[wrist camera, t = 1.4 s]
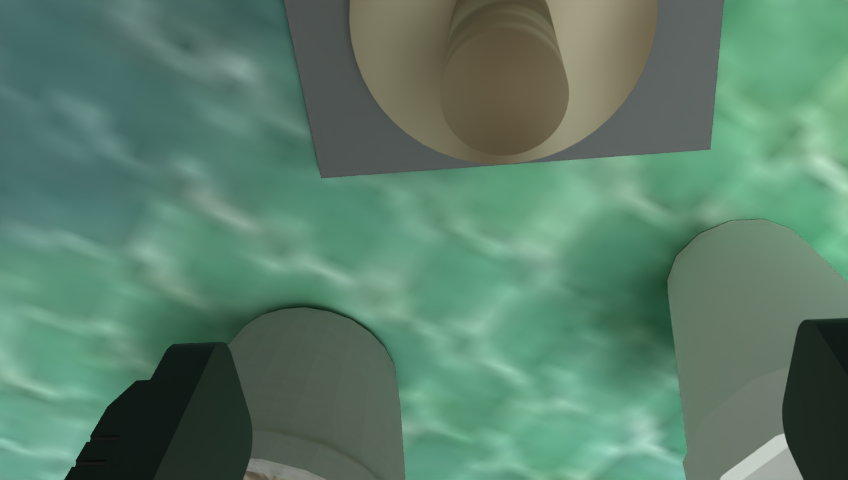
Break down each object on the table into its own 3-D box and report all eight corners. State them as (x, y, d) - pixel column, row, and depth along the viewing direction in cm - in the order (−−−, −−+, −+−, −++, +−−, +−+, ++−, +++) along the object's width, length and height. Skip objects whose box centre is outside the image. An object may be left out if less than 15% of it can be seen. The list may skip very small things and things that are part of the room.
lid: (659, -168, 24) (726, -146, 17) (646, 142, 30) (692, 250, 23) (329, -127, 26) (271, -91, 19) (377, 163, 31) (346, 270, 24)
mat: (734, -197, 24) (741, -196, 24) (705, 141, 30) (710, 149, 30) (261, -136, 26) (255, -134, 26) (324, 169, 32) (321, 178, 32)
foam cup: (741, 147, 30) (884, 356, 19) (896, 257, 33) (1103, 501, 22) (591, 298, 35) (637, 537, 24) (736, 386, 37) (839, 642, 26)
